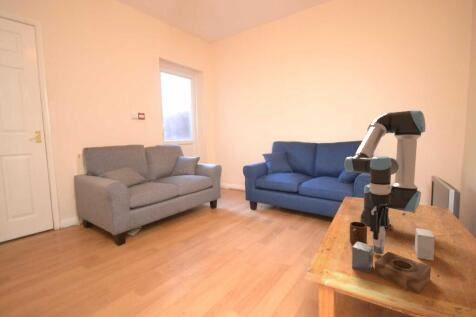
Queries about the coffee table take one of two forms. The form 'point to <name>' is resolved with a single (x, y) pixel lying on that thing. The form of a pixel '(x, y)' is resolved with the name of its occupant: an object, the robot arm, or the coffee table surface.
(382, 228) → the round peg
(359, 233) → the mug
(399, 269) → the socket block
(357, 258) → the square block
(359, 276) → the coffee table surface
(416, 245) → the small box
